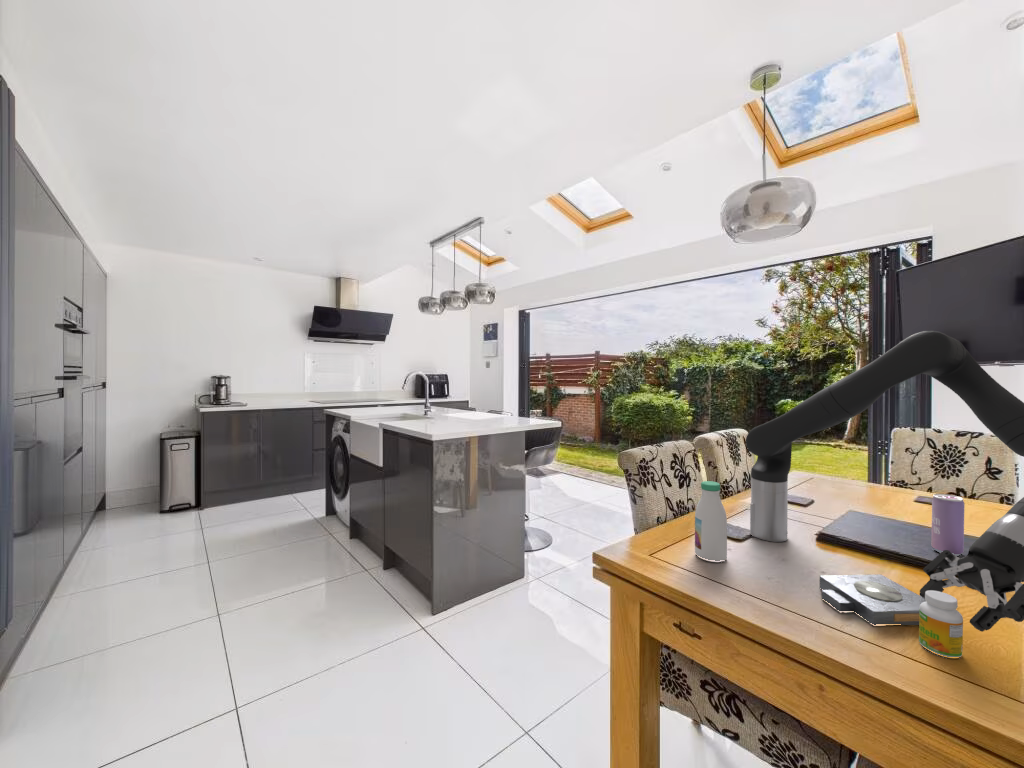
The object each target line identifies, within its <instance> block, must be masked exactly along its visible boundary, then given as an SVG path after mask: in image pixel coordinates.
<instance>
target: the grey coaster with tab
mask: <svg viewBox="0 0 1024 768" xmlns="http://www.w3.org/2000/svg"><path fill="white" fill-rule="evenodd" d="M820 588H821V589H823V590H821V589H820ZM819 589H820V590H821V600H822V599H824V600H825V601H827V602H828V603H830V604H831V605H832V606H833V607H835V608H836V609H837V610H839V611H854V612H856V613H857V614H859V615H860V616H862V617H863V618H864V619H866V620H867V621H869V622H870V623H872V624H874V625H876V624H901V625H919V608H920V604H921V603H923V602H926V601H925V600H924V599H923V598H922V597H921V596H920V594H917V593H916V592H914V591H912V590H910V589H908V588H906V587H905V586H903V585H901V584H899V583H897V582H896V581H894V580H892V579H890V578H888V577H887V576H886V575H883V574H880V573H879V574H875V573H874V574H848V575H847V574H845V575H844V574H840V575H839V574H837V575H835V574H834V575H819Z"/></svg>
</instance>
